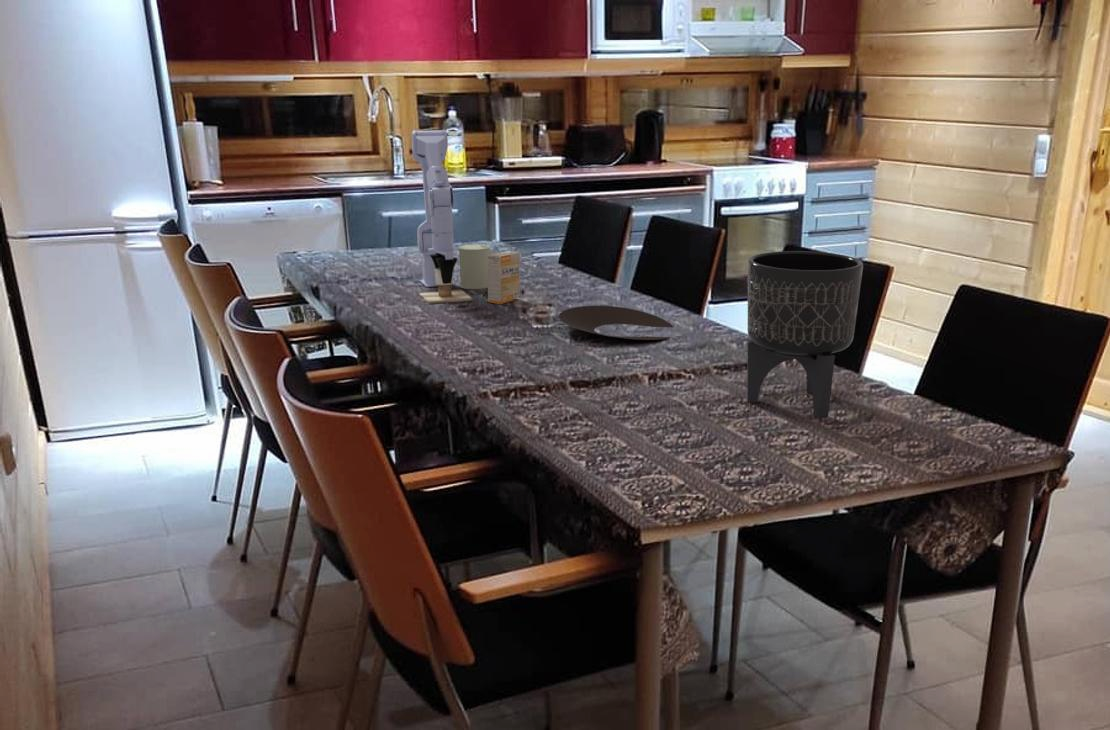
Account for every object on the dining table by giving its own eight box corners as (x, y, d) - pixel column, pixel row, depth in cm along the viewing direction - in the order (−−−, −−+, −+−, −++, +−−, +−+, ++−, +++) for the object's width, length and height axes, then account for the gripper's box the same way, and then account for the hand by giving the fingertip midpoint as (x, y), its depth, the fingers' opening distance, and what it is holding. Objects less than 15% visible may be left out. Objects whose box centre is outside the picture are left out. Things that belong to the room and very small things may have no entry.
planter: (771, 380, 186) (779, 247, 178) (868, 400, 174) (881, 258, 166) (721, 406, 172) (727, 262, 164) (823, 429, 160) (835, 275, 152)
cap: (433, 282, 261) (432, 268, 259) (451, 281, 262) (450, 266, 261) (436, 285, 256) (436, 271, 255) (455, 284, 258) (454, 270, 256)
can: (490, 289, 270) (489, 247, 267) (458, 289, 271) (456, 247, 267) (492, 282, 279) (491, 242, 276) (461, 282, 280) (460, 242, 276)
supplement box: (501, 305, 251) (500, 256, 248) (487, 302, 254) (486, 254, 250) (520, 299, 258) (519, 251, 254) (507, 297, 260) (506, 250, 257)
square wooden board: (419, 295, 264) (418, 281, 263) (461, 291, 268) (460, 277, 266) (428, 304, 253) (427, 289, 252) (471, 300, 257) (471, 285, 256)
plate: (671, 349, 209) (671, 333, 208) (547, 343, 215) (547, 327, 213) (680, 319, 235) (681, 304, 234) (570, 314, 241) (570, 300, 240)
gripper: (422, 229, 260) (424, 277, 264) (433, 236, 247) (436, 287, 251) (447, 227, 263) (449, 275, 266) (460, 235, 250) (461, 285, 253)
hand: (444, 281), depth 259 cm, fingers closed on cap, 5 cm apart
